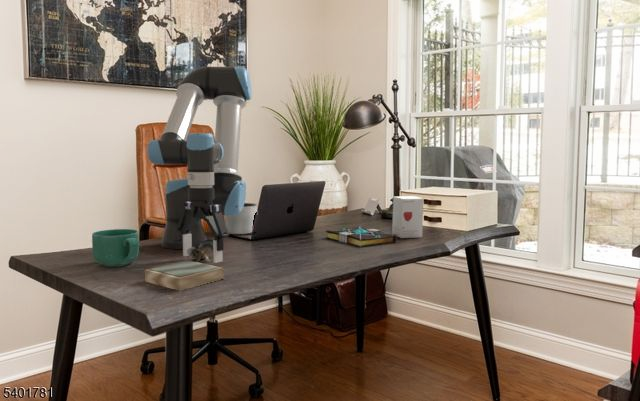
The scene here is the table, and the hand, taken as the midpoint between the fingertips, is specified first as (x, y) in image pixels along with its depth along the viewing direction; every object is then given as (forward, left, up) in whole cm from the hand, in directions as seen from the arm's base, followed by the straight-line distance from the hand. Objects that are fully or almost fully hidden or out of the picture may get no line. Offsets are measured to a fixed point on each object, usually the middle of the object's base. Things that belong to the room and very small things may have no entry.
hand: (202, 258), depth 157 cm
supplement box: (+25, +79, -2) cm, 83 cm away
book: (+16, +60, -2) cm, 62 cm away
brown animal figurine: (-2, +2, -2) cm, 3 cm away
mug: (-16, -17, -2) cm, 23 cm away
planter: (-29, +44, -2) cm, 53 cm away
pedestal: (+12, -16, -1) cm, 20 cm away
